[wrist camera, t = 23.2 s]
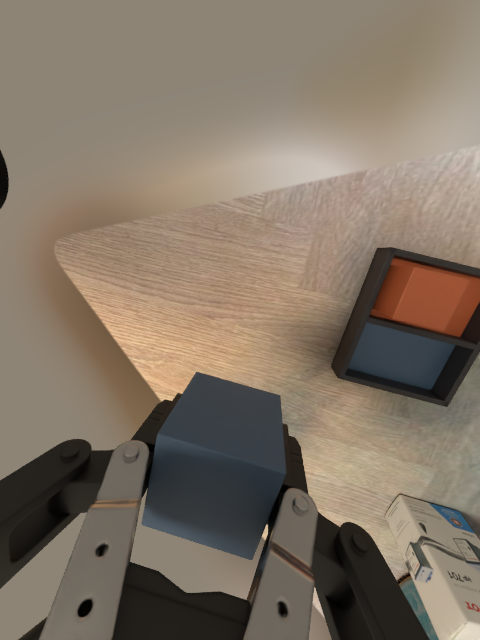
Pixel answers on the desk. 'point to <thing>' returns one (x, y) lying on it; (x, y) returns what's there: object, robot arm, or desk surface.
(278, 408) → the slate block
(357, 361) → the sorting tray
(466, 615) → the ink box
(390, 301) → the terracotta block
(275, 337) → the desk surface
